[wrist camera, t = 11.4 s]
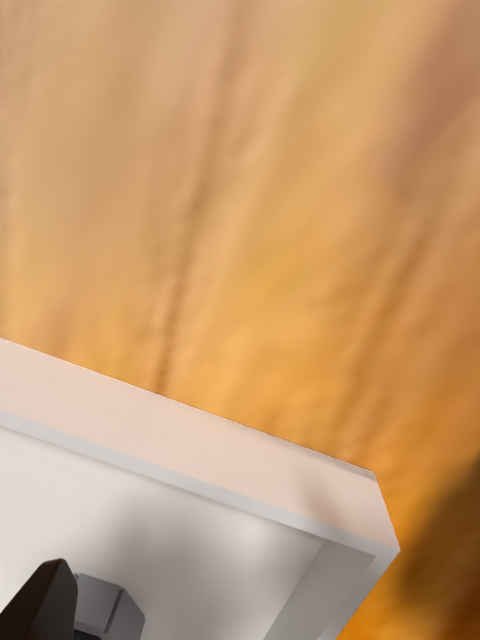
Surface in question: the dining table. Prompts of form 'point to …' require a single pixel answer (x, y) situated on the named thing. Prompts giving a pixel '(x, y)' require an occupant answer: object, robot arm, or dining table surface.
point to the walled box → (178, 512)
